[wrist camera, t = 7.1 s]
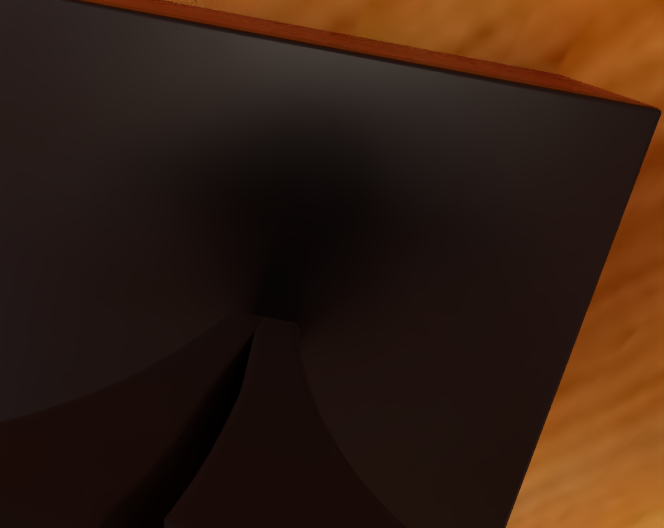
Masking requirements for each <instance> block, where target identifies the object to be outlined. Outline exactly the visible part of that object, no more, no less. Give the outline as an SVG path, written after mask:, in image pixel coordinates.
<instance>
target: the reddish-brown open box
mask: <svg viewBox="0 0 664 528" xmlns="http://www.w3.org/2000/svg"><path fill="white" fill-rule="evenodd" d="M95 1H101V2H106V3H111V4H117V5H122V6H127V7H133V8H138V9H143V10H149V11H154V12H159V13H165V14H170V15H175V16H181V17H186V18H191V19H197V20H202V21H207V22H213V23H218V24H223V25H229V26H234V27H239V28H245V29H250V30H255V31H261V32H266V33H271V34H277V35H282V36H287V37H293V38H298V39H303V40H309V41H314V42H320V43H325V44H330V45H336V46H341V47H346V48H352V49H357V50H362V51H368V52H373V53H378V54H384V55H389V56H394V57H400V58H405V59H410V60H416V61H421V62H426V63H432V64H437V65H442V66H448V67H453V68H458V69H464V70H469V71H474V72H480V73H485V74H490V75H496V76H501V77H506V78H512V79H517V80H522V81H528V82H533V83H538V84H544V85H549V86H555V87H560V88H565V89H571V90H576V91H581V92H587V93H592V94H597V95H603V96H608V97H613V98H619V99H624V100H629V101H635V102H639V101H636V100H633V99H630V98H627V97H624V96H621V95H618V94H615V93H612V92H609V91H606V90H603V89H600V88H597V87H594V86H591V85H588V84H585V83H582V82H579V81H576V80H573V79H570V78H567V77H564V76H561V75H558V74H553V73H548V72H542V71H537V70H532V69H526V68H521V67H515V66H510V65H505V64H499V63H494V62H489V61H483V60H478V59H473V58H467V57H462V56H457V55H451V54H446V53H441V52H435V51H430V50H425V49H419V48H414V47H409V46H403V45H398V44H393V43H387V42H382V41H377V40H371V39H366V38H361V37H355V36H350V35H345V34H339V33H334V32H329V31H323V30H318V29H313V28H307V27H302V26H296V25H291V24H286V23H280V22H275V21H270V20H264V19H259V18H254V17H248V16H243V15H238V14H232V13H227V12H222V11H216V10H211V9H206V8H200V7H195V6H190V5H184V4H179V3H174V2H168V1H163V0H95ZM640 103H641V102H640Z"/></svg>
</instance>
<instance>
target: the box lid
mask: <svg viewBox="0 0 664 528" xmlns="http://www.w3.org/2000/svg"><path fill="white" fill-rule="evenodd" d="M660 115H661V110H659V109H658V108H656V107H653V106H650V105H647V104H645V103H640V102H635V101H629V100H624V99H619V98H613V97H608V96H603V95H597V94H592V93H587V92H581V91H576V90H571V89H565V88H560V87H555V86H549V85H544V84H538V83H533V82H528V81H522V80H517V79H512V78H506V77H501V76H496V75H490V74H485V73H480V72H474V71H469V70H464V69H458V68H453V67H448V66H442V65H437V64H432V63H426V62H421V61H416V60H410V59H405V58H400V57H394V56H389V55H384V54H378V53H373V52H368V51H362V50H357V49H352V48H346V47H341V46H336V45H330V44H325V43H320V42H314V41H309V40H303V39H298V38H293V37H287V36H282V35H277V34H271V33H266V32H261V31H255V30H250V29H245V28H239V27H234V26H229V25H223V24H218V23H213V22H207V21H202V20H197V19H191V18H186V17H181V16H175V15H170V14H165V13H159V12H154V11H149V10H143V9H138V8H133V7H127V6H122V5H117V4H111V3H106V2H101V1H95V0H0V422H1V421H5V420H9V419H13V418H16V417H20V416H24V415H27V414H31V413H34V412H38V411H41V410H44V409H47V408H49V407H52V406H55V405H58V404H61V403H64V402H67V401H70V400H73V399H76V398H79V397H81V396H84V395H87V394H90V393H92V392H95V391H97V390H99V389H102V388H104V387H106V386H109V385H111V384H113V383H115V382H118V381H120V380H122V379H124V378H126V377H128V376H130V375H132V374H134V373H136V372H138V371H140V370H142V369H144V368H146V367H147V366H149V365H151V364H152V363H154V362H156V361H158V360H159V359H161V358H163V357H165V356H166V355H168V354H170V353H171V352H173V351H174V350H176V349H178V348H179V347H181V346H182V345H184V344H185V343H187V342H188V341H190V340H191V339H193V338H194V337H196V336H197V335H198V334H200V333H201V332H203V331H204V330H206V329H207V328H208V327H210V326H211V325H213V324H214V323H215V322H217V321H218V320H220V319H221V318H222V317H224V316H225V315H227V314H229V313H230V312H232V311H236V312H241V313H246V314H251V315H257V316H262V317H267V318H273V319H278V320H283V321H289V322H294V323H296V324H297V326H298V327H299V329H300V332H299V344H300V350H301V356H302V360H303V364H304V368H305V371H306V374H307V378H308V381H309V384H310V387H311V390H312V393H313V395H314V398H315V400H316V403H317V405H318V407H319V410H320V412H321V414H322V416H323V418H324V420H325V422H326V424H327V426H328V428H329V430H330V432H331V434H332V436H333V437H334V439H335V441H336V443H337V444H338V446H339V448H340V449H341V451H342V452H343V454H344V456H345V457H346V459H347V460H348V462H349V463H350V465H351V466H352V467H353V469H354V470H355V471H356V473H357V474H358V475H359V476H360V478H361V479H362V480H363V482H364V483H365V484H366V486H367V487H368V488H369V489H370V491H371V492H372V493H373V494H374V495H375V496H376V497H377V498H378V499H379V500H380V501H381V503H382V504H383V505H384V506H385V507H386V508H387V509H388V510H389V511H390V512H391V513H392V514H393V515H394V516H395V517H396V518H397V519H398V520H399V521H401V522H402V523H403V524H404V525H405V526H406V527H407V528H506V525H507V522H508V520H509V517H510V514H511V512H512V509H513V506H514V504H515V501H516V498H517V496H518V493H519V490H520V488H521V485H522V482H523V480H524V477H525V474H526V472H527V469H528V466H529V464H530V461H531V458H532V456H533V453H534V450H535V448H536V445H537V442H538V440H539V437H540V434H541V432H542V429H543V426H544V424H545V421H546V418H547V416H548V413H549V411H550V408H551V405H552V403H553V400H554V397H555V395H556V392H557V389H558V387H559V384H560V381H561V379H562V376H563V373H564V371H565V368H566V365H567V363H568V360H569V357H570V355H571V352H572V349H573V347H574V344H575V341H576V339H577V336H578V333H579V331H580V328H581V325H582V323H583V320H584V317H585V315H586V312H587V309H588V307H589V304H590V301H591V299H592V296H593V293H594V291H595V288H596V285H597V283H598V280H599V277H600V275H601V272H602V270H603V267H604V264H605V262H606V259H607V256H608V254H609V251H610V248H611V246H612V243H613V240H614V238H615V235H616V232H617V230H618V227H619V224H620V222H621V219H622V216H623V214H624V211H625V208H626V206H627V203H628V200H629V198H630V195H631V192H632V190H633V187H634V184H635V182H636V179H637V176H638V174H639V171H640V168H641V166H642V163H643V160H644V158H645V155H646V152H647V150H648V147H649V144H650V142H651V139H652V137H653V134H654V131H655V129H656V126H657V123H658V121H659V118H660Z"/></svg>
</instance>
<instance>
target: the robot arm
mask: <svg viewBox="0 0 664 528" xmlns="http://www.w3.org/2000/svg"><path fill="white" fill-rule="evenodd" d="M299 332H300V329H299V327H298V326H297V324H296V323H294V322H289V321H283V320H278V319H273V318H267V317H262V316H257V315H251V314H246V313H241V312H236V311H232V312H230V313H229V314H227V315H225V316H224V317H222V318H221V319H220V320H218V321H217V322H215V323H214V324H213V325H211V326H210V327H208V328H207V329H206V330H204V331H203V332H201V333H200V334H198V335H197V336H196V337H194V338H193V339H191V340H190V341H188V342H187V343H185V344H184V345H182V346H181V347H179V348H178V349H176V350H174V351H173V352H171V353H170V354H168V355H166V356H165V357H163V358H161V359H159V360H158V361H156V362H154V363H152V364H151V365H149V366H147V367H146V368H144V369H142V370H140V371H138V372H136V373H134V374H132V375H130V376H128V377H126V378H124V379H122V380H120V381H118V382H115V383H113V384H111V385H109V386H106V387H104V388H102V389H99V390H97V391H95V392H92V393H90V394H87V395H84V396H81V397H79V398H76V399H73V400H70V401H67V402H64V403H61V404H58V405H55V406H52V407H49V408H47V409H44V410H41V411H38V412H34V413H31V414H27V415H24V416H20V417H16V418H13V419H9V420H5V421H1V422H0V528H407V527H406V526H405V525H404V524H403V523H402V522H401V521H399V520H398V519H397V518H396V517H395V516H394V515H393V514H392V513H391V512H390V511H389V510H388V509H387V508H386V507H385V506H384V505H383V504H382V503H381V501H380V500H379V499H378V498H377V497H376V496H375V495H374V494H373V493H372V492H371V491H370V489H369V488H368V487H367V486H366V484H365V483H364V482H363V480H362V479H361V478H360V476H359V475H358V474H357V473H356V471H355V470H354V469H353V467H352V466H351V465H350V463H349V462H348V460H347V459H346V457H345V456H344V454H343V452H342V451H341V449H340V448H339V446H338V444H337V443H336V441H335V439H334V437H333V436H332V434H331V432H330V430H329V428H328V426H327V424H326V422H325V420H324V418H323V416H322V414H321V412H320V410H319V407H318V405H317V403H316V400H315V398H314V395H313V393H312V390H311V387H310V384H309V381H308V378H307V374H306V371H305V368H304V364H303V360H302V356H301V350H300V344H299Z"/></svg>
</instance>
